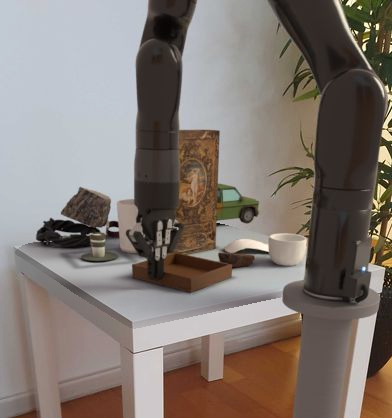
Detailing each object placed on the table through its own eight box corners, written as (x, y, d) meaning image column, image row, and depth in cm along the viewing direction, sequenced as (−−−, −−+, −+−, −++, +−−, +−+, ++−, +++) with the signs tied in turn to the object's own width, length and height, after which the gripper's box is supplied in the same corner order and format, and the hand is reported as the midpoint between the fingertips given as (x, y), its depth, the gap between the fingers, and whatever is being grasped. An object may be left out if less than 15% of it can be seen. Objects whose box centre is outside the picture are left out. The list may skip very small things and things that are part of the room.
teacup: (308, 268, 112) (311, 241, 110) (271, 268, 112) (273, 241, 109) (296, 256, 121) (298, 231, 119) (262, 255, 121) (263, 231, 119)
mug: (146, 255, 119) (145, 206, 115) (110, 250, 122) (108, 203, 118) (169, 245, 128) (169, 199, 124) (136, 241, 131) (135, 196, 127)
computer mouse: (276, 257, 120) (276, 244, 119) (221, 255, 123) (221, 243, 121) (279, 247, 128) (280, 235, 127) (228, 246, 130) (228, 234, 129)
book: (202, 243, 131) (205, 129, 121) (219, 247, 127) (223, 130, 117) (147, 253, 120) (145, 130, 110) (163, 258, 117) (163, 131, 107)
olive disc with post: (135, 260, 114) (134, 236, 112) (77, 266, 109) (75, 241, 107) (116, 248, 124) (116, 225, 122) (63, 252, 119) (61, 229, 117)
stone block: (69, 181, 124) (56, 213, 125) (106, 199, 124) (93, 231, 126) (85, 185, 137) (74, 214, 139) (118, 201, 138) (106, 229, 139)
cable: (53, 231, 139) (51, 213, 138) (108, 234, 139) (107, 216, 137) (31, 246, 123) (29, 227, 122) (93, 249, 123) (92, 230, 121)
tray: (231, 277, 105) (232, 264, 104) (190, 292, 96) (191, 278, 95) (174, 264, 113) (175, 252, 112) (132, 277, 104) (131, 264, 103)
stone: (212, 265, 112) (212, 250, 111) (232, 259, 118) (233, 244, 116) (238, 271, 109) (240, 256, 107) (258, 265, 114) (260, 250, 113)
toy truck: (261, 223, 154) (263, 185, 150) (195, 230, 144) (195, 191, 140) (239, 216, 163) (240, 180, 159) (174, 223, 153) (174, 185, 149)
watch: (107, 230, 141) (104, 216, 139) (125, 227, 141) (123, 214, 139) (105, 241, 134) (102, 227, 132) (124, 238, 134) (121, 224, 132)
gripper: (146, 182, 84) (145, 292, 91) (199, 177, 94) (195, 276, 101) (111, 177, 88) (113, 282, 95) (165, 173, 98) (164, 268, 105)
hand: (155, 279), depth 98 cm, fingers closed
